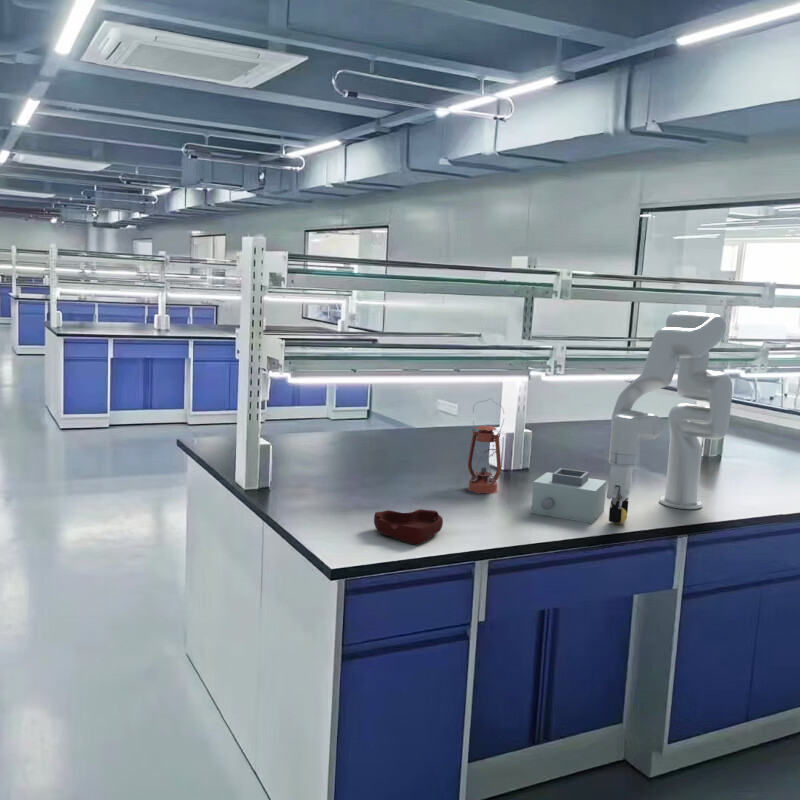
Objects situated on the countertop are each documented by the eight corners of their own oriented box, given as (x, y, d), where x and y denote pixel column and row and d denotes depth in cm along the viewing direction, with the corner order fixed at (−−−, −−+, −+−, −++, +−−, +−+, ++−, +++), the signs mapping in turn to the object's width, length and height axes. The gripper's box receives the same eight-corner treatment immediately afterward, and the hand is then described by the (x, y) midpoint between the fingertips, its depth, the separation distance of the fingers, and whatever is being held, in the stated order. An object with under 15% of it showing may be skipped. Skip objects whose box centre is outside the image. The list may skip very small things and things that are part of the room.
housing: (544, 501, 240) (547, 464, 238) (603, 511, 232) (607, 472, 230) (528, 515, 225) (530, 475, 223) (590, 526, 217) (594, 484, 215)
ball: (610, 519, 224) (612, 503, 223) (627, 522, 221) (629, 506, 221) (607, 524, 219) (608, 507, 219) (624, 527, 217) (626, 510, 216)
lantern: (495, 486, 256) (500, 396, 251) (500, 495, 246) (506, 401, 241) (466, 485, 256) (470, 395, 251) (469, 494, 245) (474, 400, 241)
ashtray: (383, 549, 193) (383, 529, 192) (370, 528, 208) (371, 510, 208) (452, 546, 197) (453, 527, 196) (435, 526, 212) (436, 508, 212)
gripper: (615, 451, 227) (610, 508, 229) (602, 462, 212) (598, 523, 214) (642, 454, 224) (637, 512, 226) (631, 466, 208) (625, 528, 211)
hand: (618, 517), depth 220 cm, fingers open, 9 cm apart
